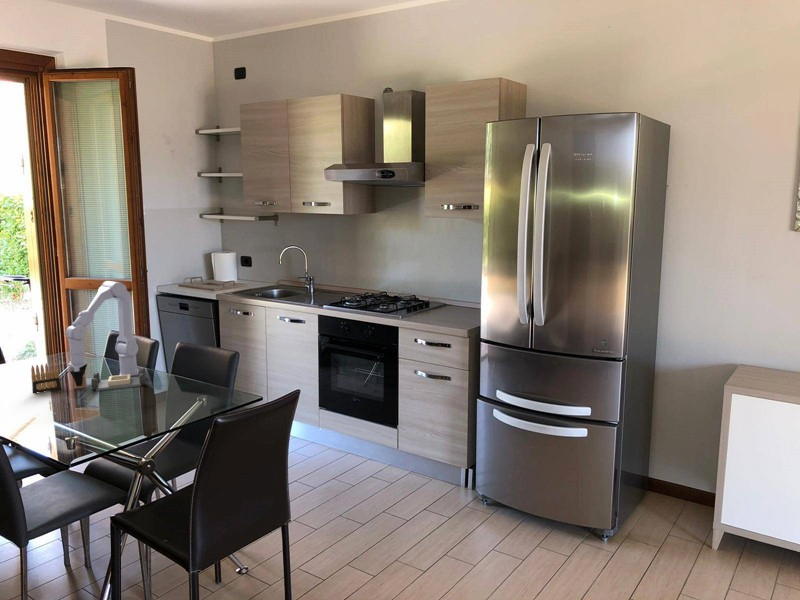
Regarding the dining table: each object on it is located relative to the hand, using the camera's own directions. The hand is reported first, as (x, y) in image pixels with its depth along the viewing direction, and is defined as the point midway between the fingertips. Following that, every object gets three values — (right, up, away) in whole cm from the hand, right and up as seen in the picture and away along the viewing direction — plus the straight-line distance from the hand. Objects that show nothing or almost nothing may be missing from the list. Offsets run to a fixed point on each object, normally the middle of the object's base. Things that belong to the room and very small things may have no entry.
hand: (80, 383), depth 289 cm
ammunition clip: (-12, -3, -5) cm, 13 cm away
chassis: (+16, -1, +3) cm, 16 cm away
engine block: (0, -2, 0) cm, 2 cm away
